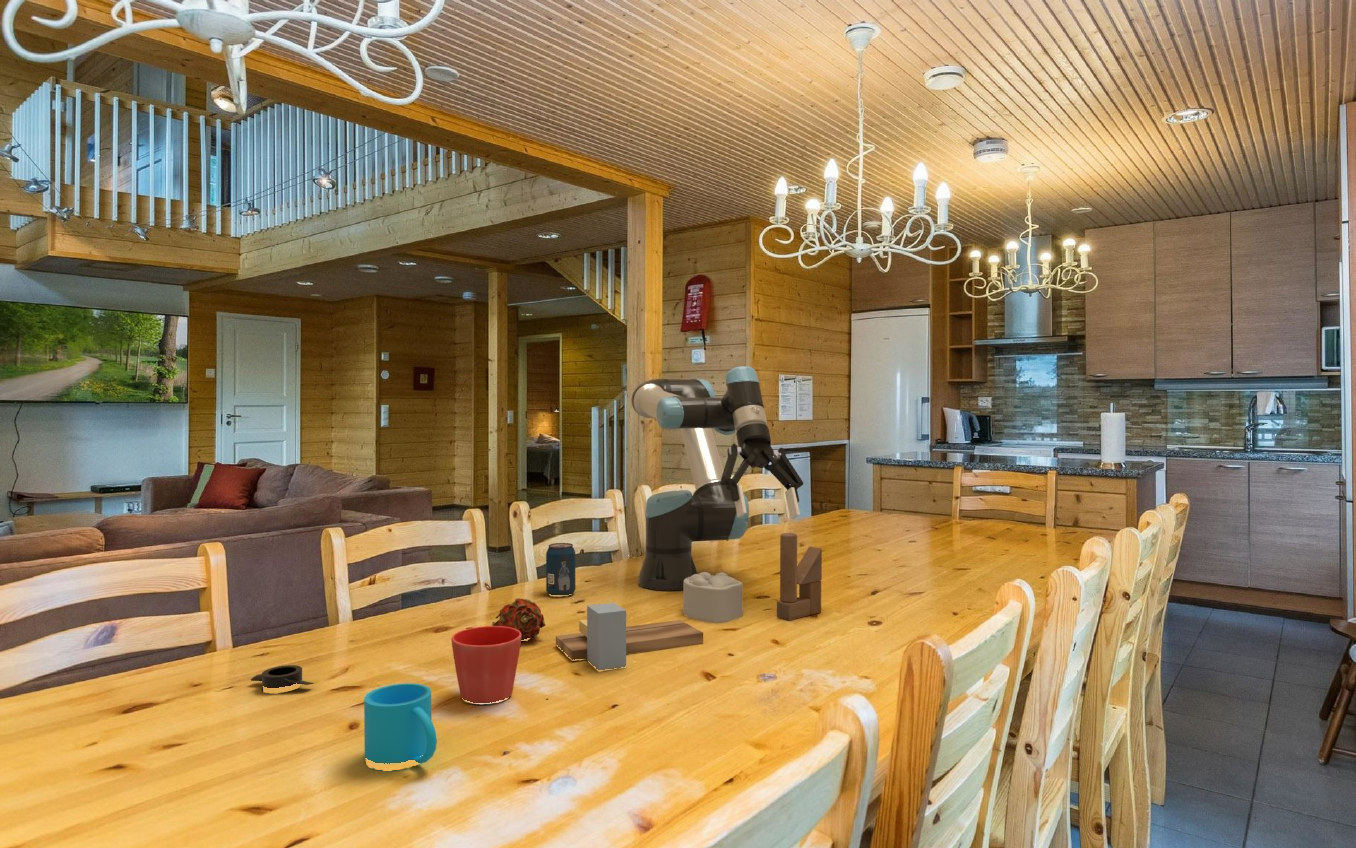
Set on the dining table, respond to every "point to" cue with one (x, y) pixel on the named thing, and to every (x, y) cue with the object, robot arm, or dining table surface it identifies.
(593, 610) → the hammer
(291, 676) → the black winged ring
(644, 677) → the dining table surface
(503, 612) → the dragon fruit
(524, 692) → the dining table surface
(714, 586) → the paw mold
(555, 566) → the soda can
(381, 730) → the mug
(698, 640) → the board
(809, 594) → the wooden block
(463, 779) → the dining table surface
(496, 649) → the flower pot
